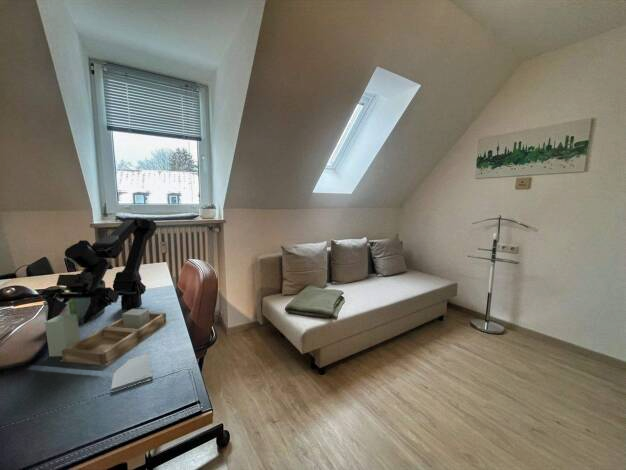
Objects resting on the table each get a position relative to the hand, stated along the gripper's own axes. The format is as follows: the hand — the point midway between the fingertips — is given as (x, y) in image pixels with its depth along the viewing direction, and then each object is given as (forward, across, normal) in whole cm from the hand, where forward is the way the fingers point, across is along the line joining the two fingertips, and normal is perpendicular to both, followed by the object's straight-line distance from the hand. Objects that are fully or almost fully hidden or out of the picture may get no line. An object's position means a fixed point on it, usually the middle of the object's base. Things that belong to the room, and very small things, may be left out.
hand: (65, 323), depth 71 cm
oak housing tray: (+3, +11, +10) cm, 15 cm away
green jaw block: (+7, 0, +6) cm, 9 cm away
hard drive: (+14, +23, 0) cm, 27 cm away
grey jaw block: (-2, +12, +13) cm, 18 cm away
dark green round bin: (-12, -13, +24) cm, 30 cm away
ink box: (-5, -15, +18) cm, 24 cm away
